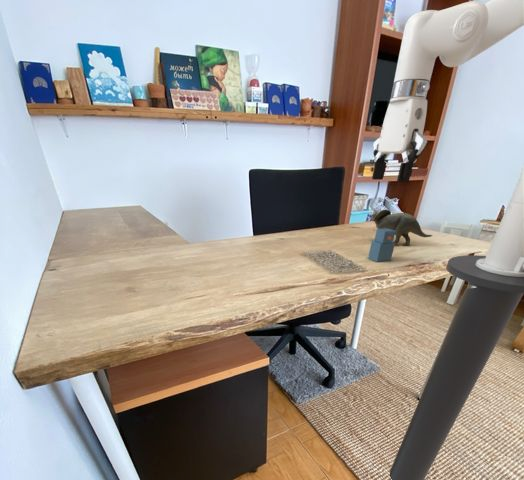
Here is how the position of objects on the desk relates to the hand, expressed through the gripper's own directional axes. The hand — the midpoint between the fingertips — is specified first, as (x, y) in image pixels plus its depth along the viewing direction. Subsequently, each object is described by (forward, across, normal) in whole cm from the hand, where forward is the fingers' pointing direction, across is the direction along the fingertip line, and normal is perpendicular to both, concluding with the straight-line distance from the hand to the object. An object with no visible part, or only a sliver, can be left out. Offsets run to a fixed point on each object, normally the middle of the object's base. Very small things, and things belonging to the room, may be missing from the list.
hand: (389, 180), depth 76 cm
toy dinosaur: (+20, +13, -18) cm, 30 cm away
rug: (+20, 0, +13) cm, 24 cm away
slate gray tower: (+20, -1, -2) cm, 20 cm away
